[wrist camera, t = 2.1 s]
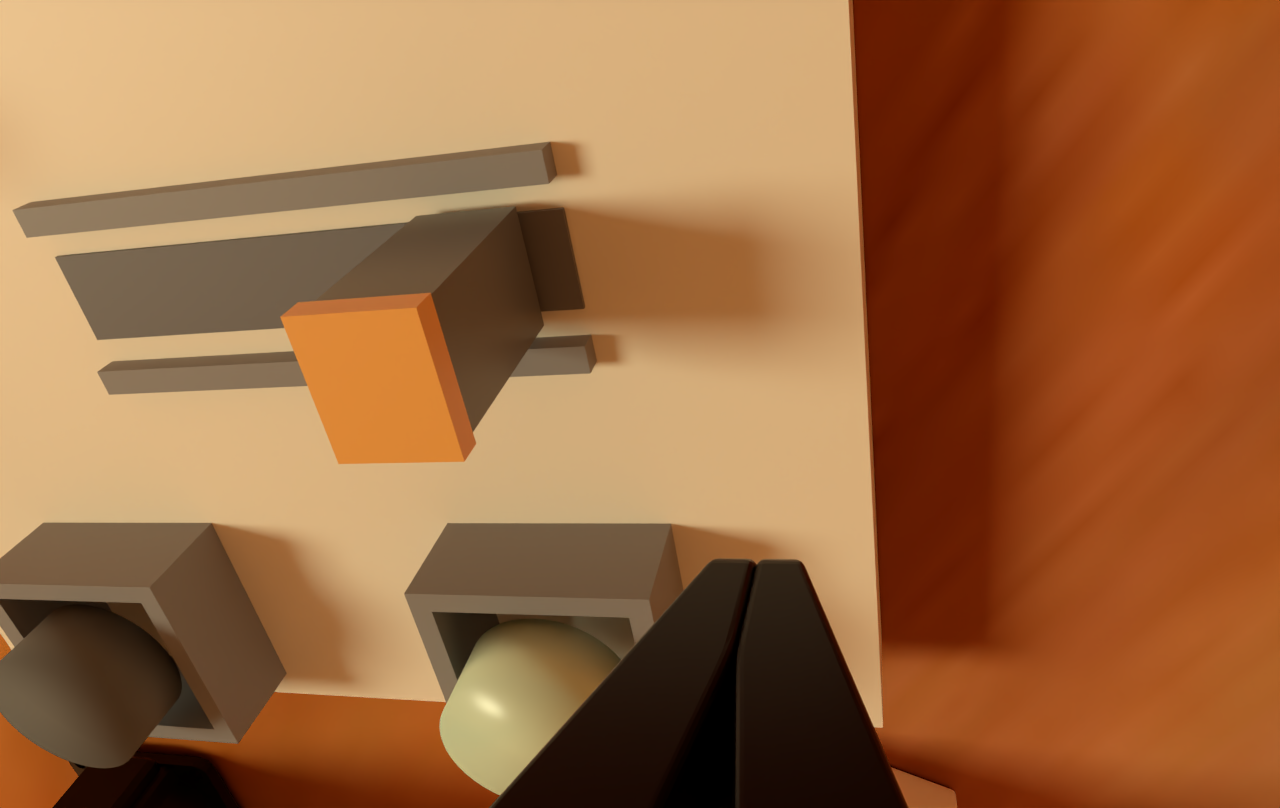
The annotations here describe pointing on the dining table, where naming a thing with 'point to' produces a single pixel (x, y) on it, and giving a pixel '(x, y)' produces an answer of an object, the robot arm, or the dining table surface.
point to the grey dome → (88, 686)
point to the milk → (924, 792)
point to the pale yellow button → (519, 695)
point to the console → (348, 233)
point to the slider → (419, 338)
